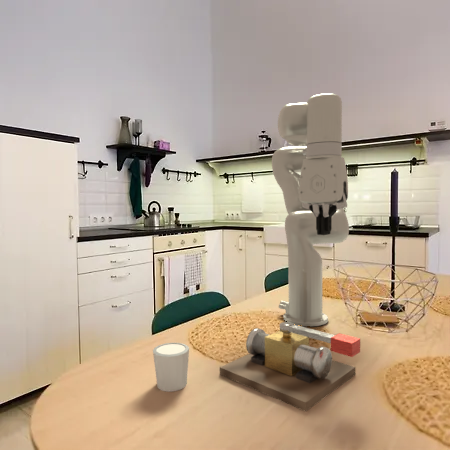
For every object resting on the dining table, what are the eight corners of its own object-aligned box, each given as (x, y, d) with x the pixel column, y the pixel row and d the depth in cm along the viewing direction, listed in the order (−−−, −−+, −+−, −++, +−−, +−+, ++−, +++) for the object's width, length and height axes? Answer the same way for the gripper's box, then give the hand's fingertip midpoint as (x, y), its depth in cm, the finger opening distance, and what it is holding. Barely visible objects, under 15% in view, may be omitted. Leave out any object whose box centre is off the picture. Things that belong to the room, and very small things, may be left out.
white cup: (195, 378, 76) (194, 344, 75) (180, 395, 69) (179, 357, 69) (164, 374, 78) (163, 340, 77) (147, 390, 71) (145, 353, 71)
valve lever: (285, 331, 78) (285, 319, 78) (360, 352, 67) (360, 338, 67) (276, 335, 76) (276, 323, 76) (352, 357, 65) (352, 343, 65)
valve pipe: (245, 360, 80) (245, 325, 80) (263, 351, 84) (263, 318, 84) (315, 386, 69) (315, 345, 68) (332, 374, 73) (332, 336, 72)
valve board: (219, 374, 77) (219, 366, 77) (274, 348, 90) (273, 341, 90) (305, 411, 63) (305, 401, 63) (355, 374, 76) (355, 366, 76)
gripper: (286, 154, 88) (286, 234, 89) (347, 148, 78) (347, 238, 79) (304, 156, 93) (304, 231, 95) (363, 150, 83) (362, 235, 84)
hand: (323, 234), depth 87 cm, fingers closed
